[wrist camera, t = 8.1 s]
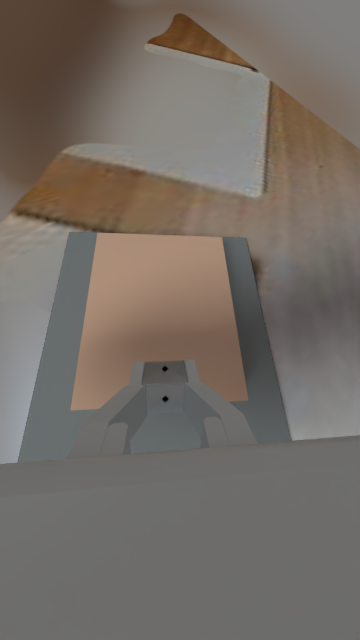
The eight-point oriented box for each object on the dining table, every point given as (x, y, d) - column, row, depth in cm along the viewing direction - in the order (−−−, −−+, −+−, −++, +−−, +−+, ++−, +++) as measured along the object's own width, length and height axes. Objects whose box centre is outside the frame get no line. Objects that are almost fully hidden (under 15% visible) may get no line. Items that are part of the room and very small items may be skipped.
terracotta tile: (248, 400, 13) (221, 237, 18) (70, 410, 12) (97, 232, 17) (235, 398, 15) (215, 253, 20) (85, 406, 14) (105, 250, 19)
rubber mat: (297, 489, 14) (302, 493, 13) (9, 521, 12) (2, 526, 11) (244, 241, 22) (245, 237, 22) (71, 235, 20) (69, 231, 20)
